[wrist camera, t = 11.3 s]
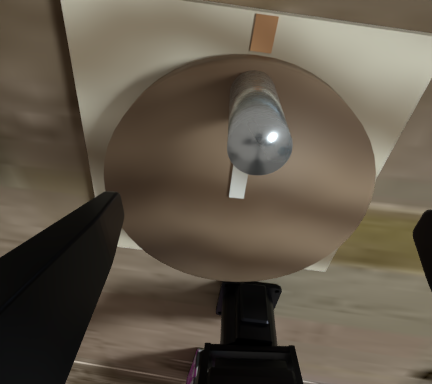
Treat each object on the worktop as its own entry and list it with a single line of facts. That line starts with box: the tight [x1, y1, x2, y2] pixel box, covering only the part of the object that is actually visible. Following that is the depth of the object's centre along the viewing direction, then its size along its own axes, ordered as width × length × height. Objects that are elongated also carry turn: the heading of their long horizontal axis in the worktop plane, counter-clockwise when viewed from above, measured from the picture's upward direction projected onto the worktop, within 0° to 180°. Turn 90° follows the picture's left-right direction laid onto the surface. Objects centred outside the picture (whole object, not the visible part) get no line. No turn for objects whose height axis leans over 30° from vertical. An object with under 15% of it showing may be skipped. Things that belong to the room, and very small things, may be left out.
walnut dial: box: [104, 54, 376, 282], centre depth 19 cm, size 18×18×8 cm
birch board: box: [61, 0, 432, 272], centre depth 22 cm, size 20×21×2 cm
